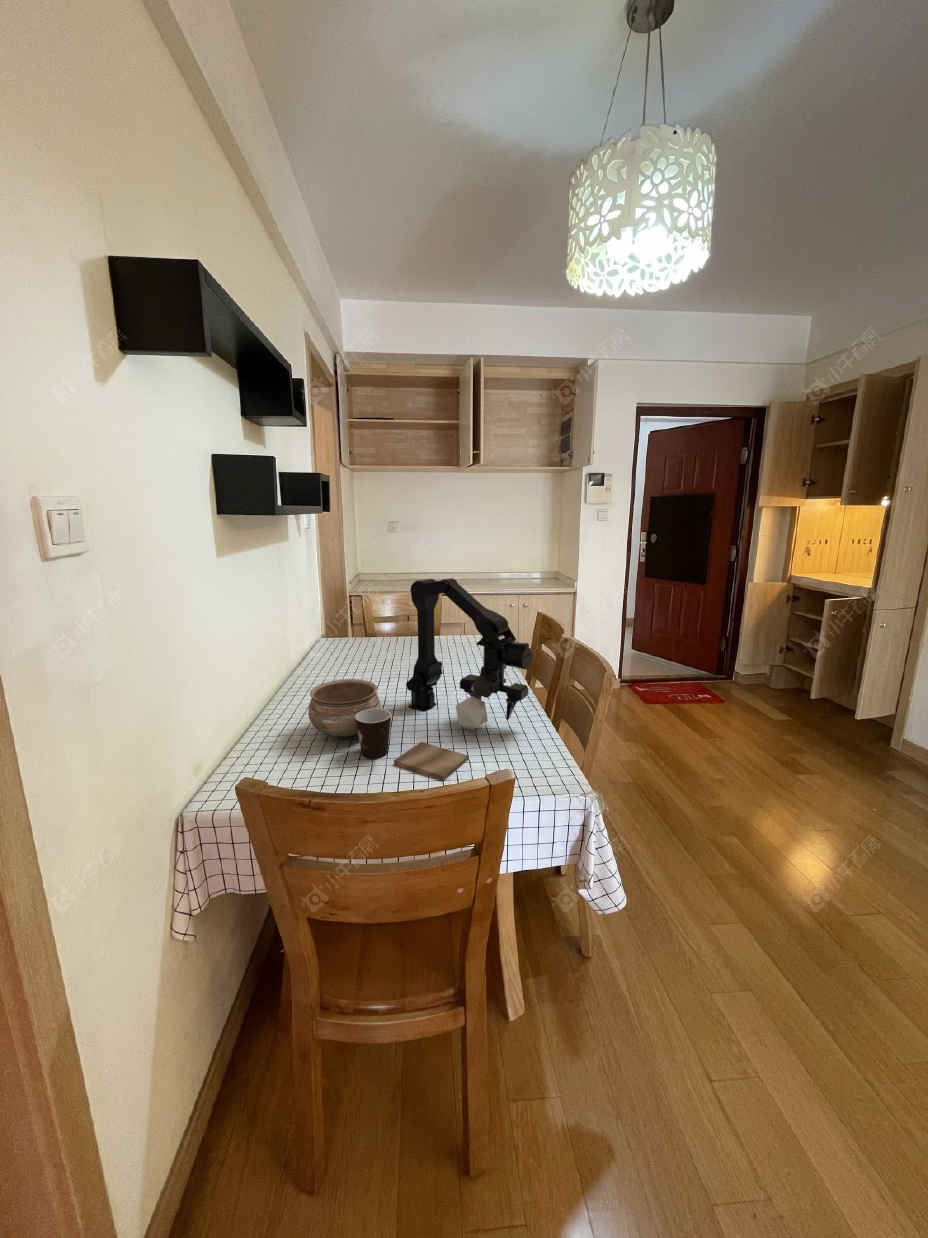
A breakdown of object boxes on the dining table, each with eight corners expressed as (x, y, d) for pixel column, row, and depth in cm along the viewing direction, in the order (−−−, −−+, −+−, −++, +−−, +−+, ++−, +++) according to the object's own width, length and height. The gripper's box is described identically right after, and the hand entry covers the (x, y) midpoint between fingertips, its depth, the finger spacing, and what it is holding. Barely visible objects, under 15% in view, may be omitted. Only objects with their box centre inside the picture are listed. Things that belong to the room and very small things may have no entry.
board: (394, 765, 115) (394, 760, 114) (421, 746, 124) (420, 741, 124) (443, 781, 108) (443, 776, 107) (468, 760, 117) (468, 755, 117)
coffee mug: (359, 745, 124) (357, 709, 122) (393, 744, 125) (392, 707, 123) (353, 768, 113) (351, 729, 111) (390, 767, 114) (389, 727, 111)
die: (488, 737, 129) (489, 702, 127) (455, 737, 129) (455, 702, 127) (487, 723, 137) (487, 690, 135) (455, 723, 137) (455, 690, 135)
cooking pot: (332, 712, 145) (329, 673, 142) (393, 716, 142) (392, 676, 139) (291, 752, 121) (287, 706, 118) (363, 757, 118) (361, 711, 115)
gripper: (449, 665, 129) (449, 719, 133) (512, 676, 120) (511, 734, 123) (469, 654, 139) (469, 705, 142) (530, 664, 129) (528, 719, 133)
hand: (493, 715), depth 135 cm, fingers open, 9 cm apart
